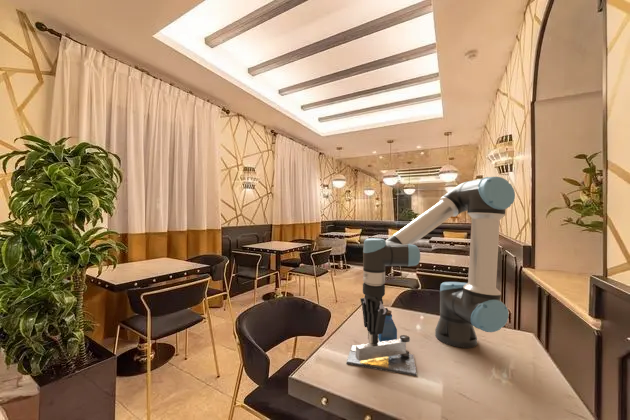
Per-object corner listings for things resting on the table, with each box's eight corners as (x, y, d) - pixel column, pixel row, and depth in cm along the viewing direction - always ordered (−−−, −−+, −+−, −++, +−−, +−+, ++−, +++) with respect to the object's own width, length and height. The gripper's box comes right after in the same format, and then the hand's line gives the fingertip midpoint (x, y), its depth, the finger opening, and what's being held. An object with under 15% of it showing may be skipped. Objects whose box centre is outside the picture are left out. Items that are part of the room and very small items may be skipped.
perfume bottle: (393, 338, 107) (393, 308, 107) (396, 345, 101) (397, 314, 101) (378, 337, 107) (378, 308, 108) (380, 344, 101) (380, 313, 101)
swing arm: (405, 348, 94) (405, 334, 94) (411, 353, 91) (411, 338, 91) (355, 356, 88) (355, 341, 88) (359, 361, 85) (359, 346, 85)
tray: (413, 356, 93) (413, 350, 93) (416, 376, 81) (416, 369, 81) (351, 346, 99) (351, 341, 99) (346, 363, 87) (346, 357, 87)
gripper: (354, 279, 95) (353, 344, 95) (376, 289, 83) (375, 363, 83) (371, 277, 98) (370, 340, 98) (395, 286, 86) (394, 358, 86)
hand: (372, 351), depth 90 cm, fingers closed
